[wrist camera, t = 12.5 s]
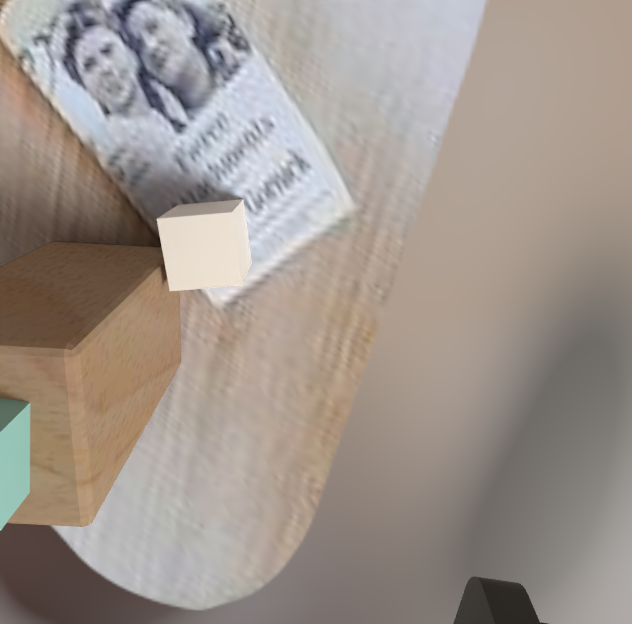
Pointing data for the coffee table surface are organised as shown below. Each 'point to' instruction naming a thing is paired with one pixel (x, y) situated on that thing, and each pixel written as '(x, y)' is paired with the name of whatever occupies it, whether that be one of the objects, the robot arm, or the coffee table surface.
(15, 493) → the teal block
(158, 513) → the coffee table surface
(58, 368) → the wooden block
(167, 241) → the cream block
